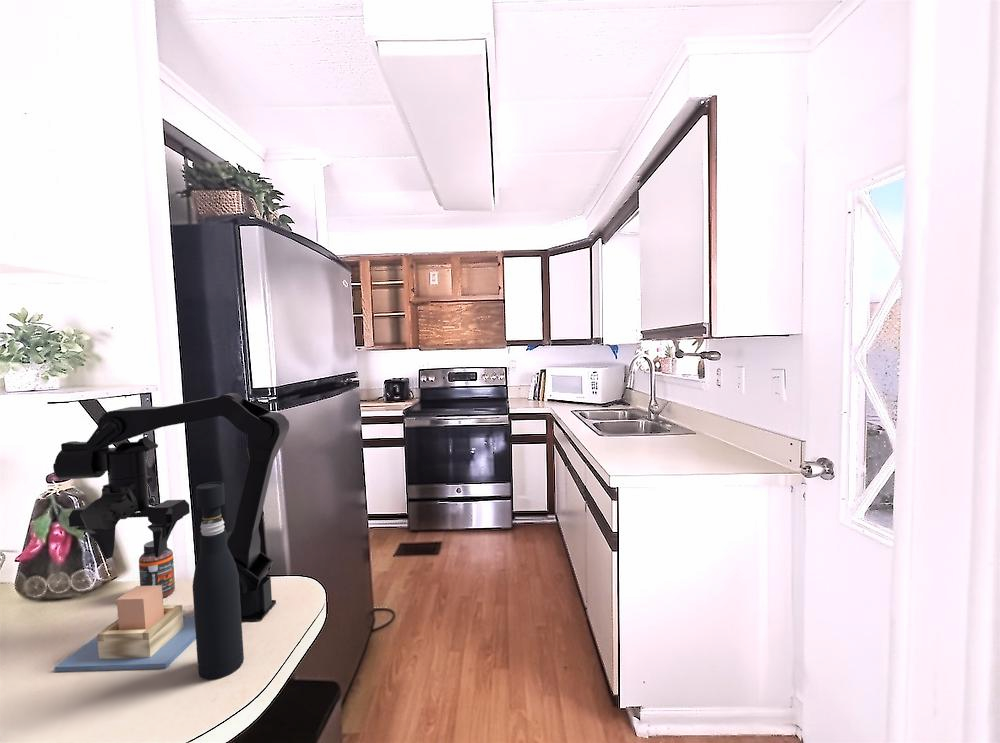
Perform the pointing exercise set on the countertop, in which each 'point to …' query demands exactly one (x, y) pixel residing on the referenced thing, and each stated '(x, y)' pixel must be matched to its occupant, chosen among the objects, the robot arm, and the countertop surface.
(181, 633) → the mat
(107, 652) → the open wooden box
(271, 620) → the countertop surface
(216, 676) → the black insulated water bottle
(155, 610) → the terracotta block
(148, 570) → the supplement bottle
